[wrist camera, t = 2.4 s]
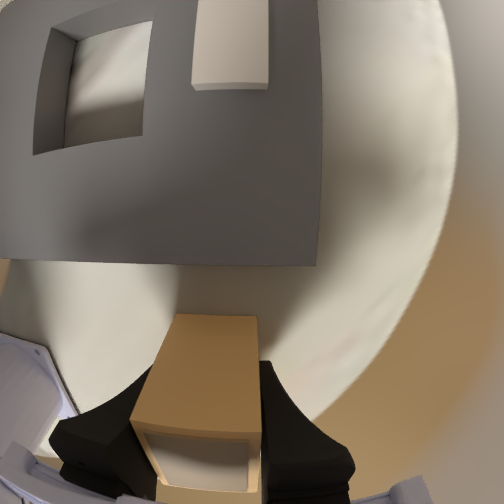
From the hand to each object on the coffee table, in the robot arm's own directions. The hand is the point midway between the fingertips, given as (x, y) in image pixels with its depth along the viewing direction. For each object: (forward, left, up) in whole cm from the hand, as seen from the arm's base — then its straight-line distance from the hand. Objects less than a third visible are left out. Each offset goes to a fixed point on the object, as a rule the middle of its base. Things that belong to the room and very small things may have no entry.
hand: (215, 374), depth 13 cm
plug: (0, 0, -2) cm, 2 cm away
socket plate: (-5, +14, -2) cm, 15 cm away
